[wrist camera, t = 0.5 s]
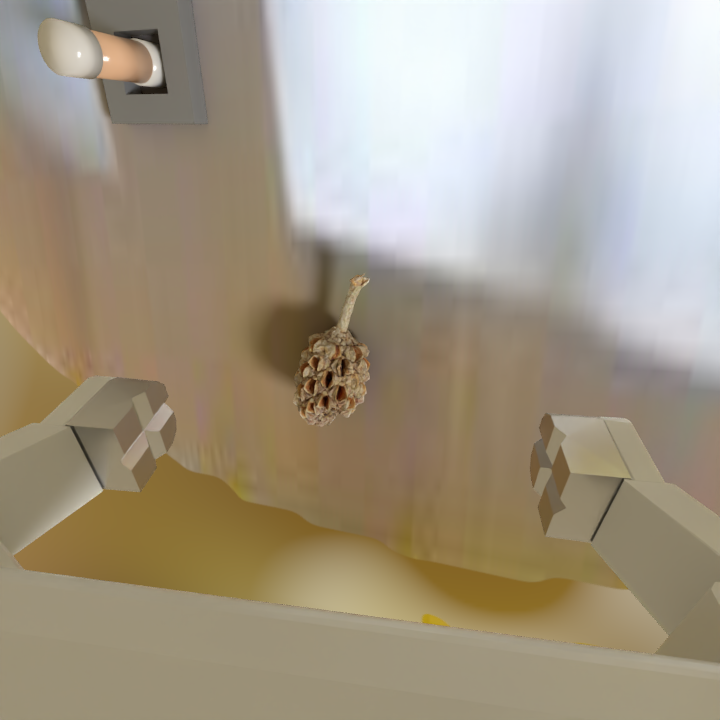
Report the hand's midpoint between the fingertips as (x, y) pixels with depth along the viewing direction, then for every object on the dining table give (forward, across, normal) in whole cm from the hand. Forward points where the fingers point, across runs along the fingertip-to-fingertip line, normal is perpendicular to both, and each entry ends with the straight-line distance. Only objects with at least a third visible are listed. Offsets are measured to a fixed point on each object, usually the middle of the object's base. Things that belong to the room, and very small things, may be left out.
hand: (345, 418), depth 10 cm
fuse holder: (+52, +30, -5) cm, 60 cm away
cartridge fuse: (+52, +30, -5) cm, 60 cm away
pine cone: (+43, +6, +25) cm, 50 cm away
